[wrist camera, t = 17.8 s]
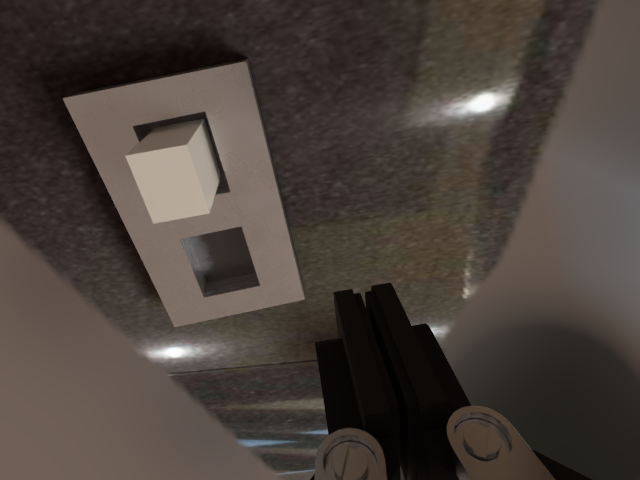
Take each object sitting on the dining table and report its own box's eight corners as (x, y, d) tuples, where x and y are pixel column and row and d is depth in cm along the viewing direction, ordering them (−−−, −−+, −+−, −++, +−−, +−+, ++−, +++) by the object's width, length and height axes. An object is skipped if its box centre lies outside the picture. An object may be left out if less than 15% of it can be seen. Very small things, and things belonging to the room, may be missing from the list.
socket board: (82, 91, 27) (62, 98, 25) (248, 57, 27) (246, 61, 25) (181, 306, 37) (174, 327, 35) (302, 280, 37) (304, 299, 35)
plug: (155, 127, 28) (124, 155, 22) (204, 118, 28) (186, 144, 22) (176, 183, 30) (153, 223, 24) (221, 175, 31) (209, 213, 24)
